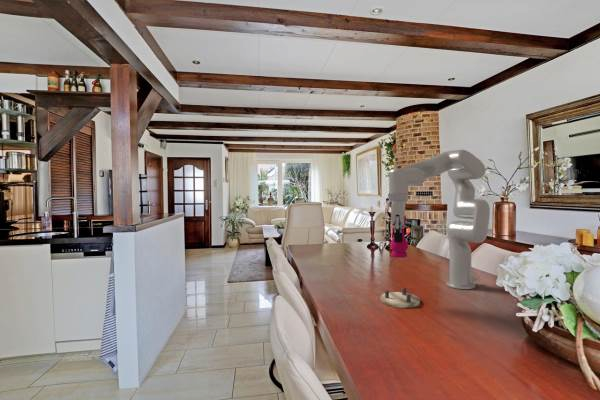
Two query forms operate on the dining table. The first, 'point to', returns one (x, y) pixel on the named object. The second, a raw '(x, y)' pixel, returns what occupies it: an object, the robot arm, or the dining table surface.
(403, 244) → the pepper mill
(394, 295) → the dowel board
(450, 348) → the dining table surface
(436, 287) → the dining table surface
